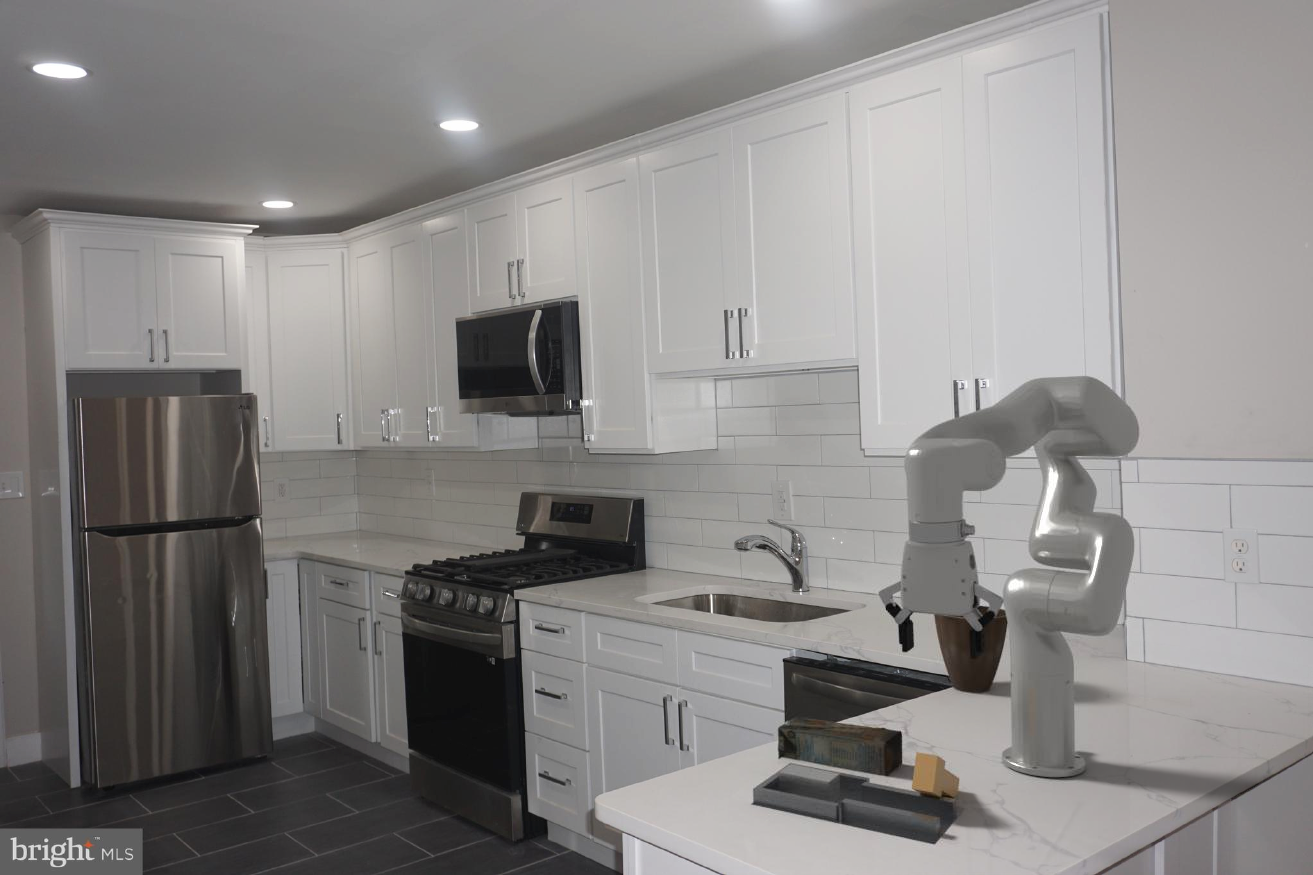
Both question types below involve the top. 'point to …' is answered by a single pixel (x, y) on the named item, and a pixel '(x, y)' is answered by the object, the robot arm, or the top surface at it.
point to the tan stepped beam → (933, 777)
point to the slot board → (868, 807)
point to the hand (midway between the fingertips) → (941, 653)
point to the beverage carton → (841, 745)
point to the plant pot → (957, 650)
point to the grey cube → (822, 785)
